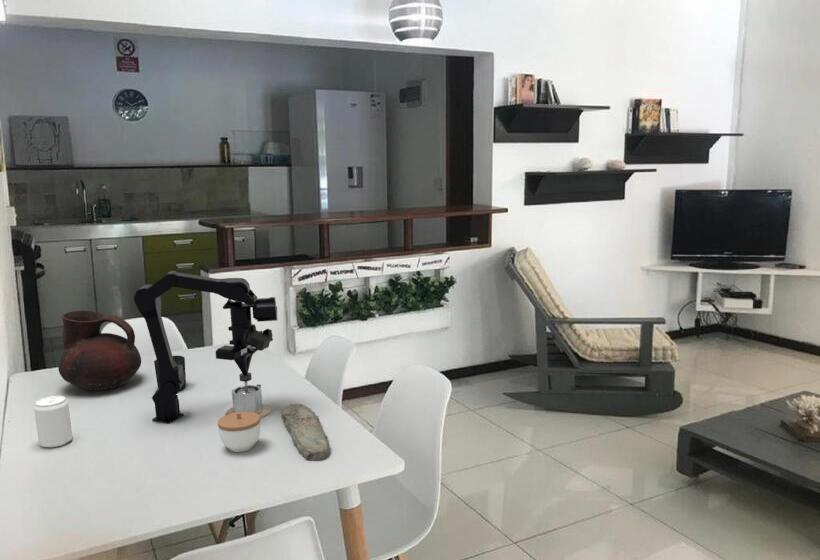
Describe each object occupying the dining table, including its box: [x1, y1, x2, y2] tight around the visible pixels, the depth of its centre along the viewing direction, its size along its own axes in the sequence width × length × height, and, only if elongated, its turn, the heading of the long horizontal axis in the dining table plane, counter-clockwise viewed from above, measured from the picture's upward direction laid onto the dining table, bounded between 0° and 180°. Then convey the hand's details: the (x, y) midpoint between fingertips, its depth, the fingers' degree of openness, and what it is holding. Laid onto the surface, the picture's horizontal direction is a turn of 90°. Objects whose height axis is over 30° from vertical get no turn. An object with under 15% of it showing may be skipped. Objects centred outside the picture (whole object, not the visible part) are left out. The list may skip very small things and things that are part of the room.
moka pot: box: [224, 383, 271, 419], centre depth 201 cm, size 13×13×7 cm
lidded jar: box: [217, 412, 261, 453], centre depth 178 cm, size 11×11×9 cm
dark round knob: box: [237, 371, 256, 394], centre depth 200 cm, size 5×5×6 cm
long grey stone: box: [280, 403, 330, 462], centre depth 185 cm, size 35×5×10 cm
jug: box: [58, 310, 142, 391], centre depth 227 cm, size 25×25×25 cm
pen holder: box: [153, 355, 187, 392], centre depth 223 cm, size 9×9×10 cm
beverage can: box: [33, 395, 73, 448], centre depth 183 cm, size 8×8×12 cm
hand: (245, 374), depth 200 cm, fingers closed
